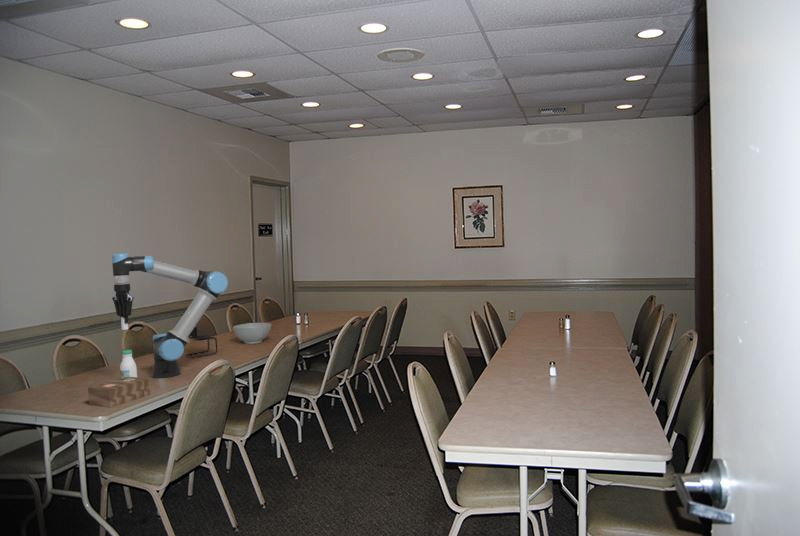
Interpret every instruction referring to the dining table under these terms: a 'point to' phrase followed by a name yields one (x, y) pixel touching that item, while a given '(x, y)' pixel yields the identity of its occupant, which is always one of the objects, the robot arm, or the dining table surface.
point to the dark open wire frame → (199, 338)
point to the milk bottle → (128, 365)
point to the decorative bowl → (252, 332)
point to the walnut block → (118, 392)
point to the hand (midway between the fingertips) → (124, 329)
